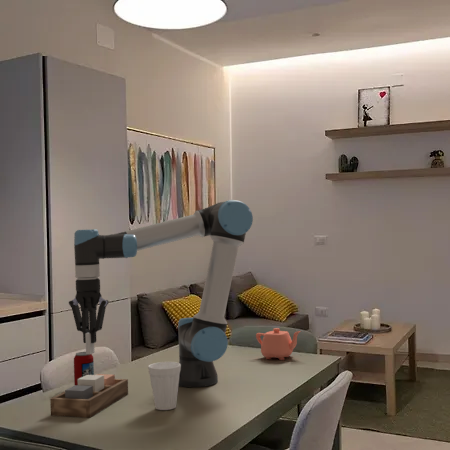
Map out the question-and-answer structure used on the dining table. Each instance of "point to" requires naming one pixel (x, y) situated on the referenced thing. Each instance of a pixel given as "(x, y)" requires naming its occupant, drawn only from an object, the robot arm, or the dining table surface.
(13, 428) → the dining table surface
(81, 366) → the beverage can
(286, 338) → the teapot
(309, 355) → the dining table surface
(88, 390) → the grey square block
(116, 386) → the wooden tray
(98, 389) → the white square block
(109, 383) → the salmon pink square block
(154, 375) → the cup
